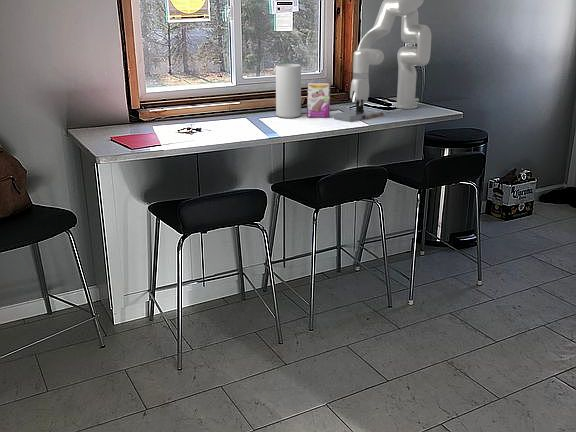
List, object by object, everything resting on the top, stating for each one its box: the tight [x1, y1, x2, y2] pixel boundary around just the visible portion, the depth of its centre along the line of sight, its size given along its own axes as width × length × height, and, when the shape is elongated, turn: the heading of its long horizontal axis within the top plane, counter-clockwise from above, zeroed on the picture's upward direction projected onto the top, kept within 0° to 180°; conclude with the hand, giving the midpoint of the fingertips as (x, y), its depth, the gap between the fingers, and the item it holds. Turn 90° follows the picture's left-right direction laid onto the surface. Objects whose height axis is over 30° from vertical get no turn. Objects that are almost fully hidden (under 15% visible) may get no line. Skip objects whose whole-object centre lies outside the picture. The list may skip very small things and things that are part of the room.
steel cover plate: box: [333, 110, 367, 123], centre depth 310 cm, size 12×10×3 cm
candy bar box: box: [306, 82, 331, 119], centre depth 313 cm, size 11×5×16 cm, turn 84°
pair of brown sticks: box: [354, 109, 384, 120], centre depth 318 cm, size 14×13×2 cm
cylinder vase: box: [275, 63, 302, 119], centre depth 315 cm, size 12×12×25 cm
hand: (359, 113), depth 315 cm, fingers closed
